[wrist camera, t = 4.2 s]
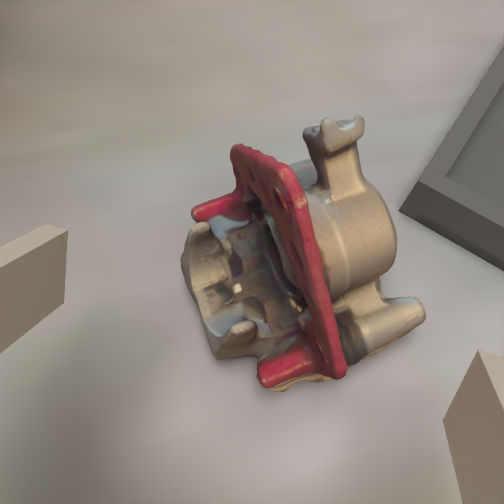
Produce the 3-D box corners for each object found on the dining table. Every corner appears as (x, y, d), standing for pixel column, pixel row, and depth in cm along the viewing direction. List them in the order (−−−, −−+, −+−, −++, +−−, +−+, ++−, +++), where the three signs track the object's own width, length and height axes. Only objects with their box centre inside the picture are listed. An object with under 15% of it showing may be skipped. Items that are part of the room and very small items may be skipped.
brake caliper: (109, 223, 23) (239, 25, 15) (265, 220, 31) (405, 85, 23) (186, 449, 19) (410, 337, 12) (343, 383, 27) (543, 287, 19)
